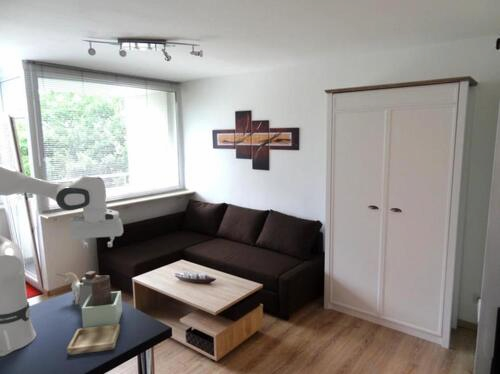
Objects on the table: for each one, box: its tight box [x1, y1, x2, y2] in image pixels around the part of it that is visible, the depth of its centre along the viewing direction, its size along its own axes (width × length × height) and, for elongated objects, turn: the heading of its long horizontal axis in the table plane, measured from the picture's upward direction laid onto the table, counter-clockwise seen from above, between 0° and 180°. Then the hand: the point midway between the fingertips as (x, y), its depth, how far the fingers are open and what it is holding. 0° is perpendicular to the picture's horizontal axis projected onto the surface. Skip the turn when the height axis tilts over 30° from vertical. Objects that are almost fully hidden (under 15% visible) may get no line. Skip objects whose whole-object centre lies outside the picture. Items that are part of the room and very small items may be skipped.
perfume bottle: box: [79, 270, 99, 310], centre depth 153 cm, size 7×7×18 cm
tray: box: [66, 323, 121, 356], centre depth 130 cm, size 16×13×2 cm
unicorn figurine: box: [56, 272, 82, 306], centre depth 161 cm, size 7×20×13 cm, turn 61°
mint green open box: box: [81, 290, 123, 328], centre depth 144 cm, size 13×13×10 cm
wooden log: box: [91, 274, 112, 306], centre depth 143 cm, size 8×7×20 cm
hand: (98, 247), depth 139 cm, fingers open, 8 cm apart
